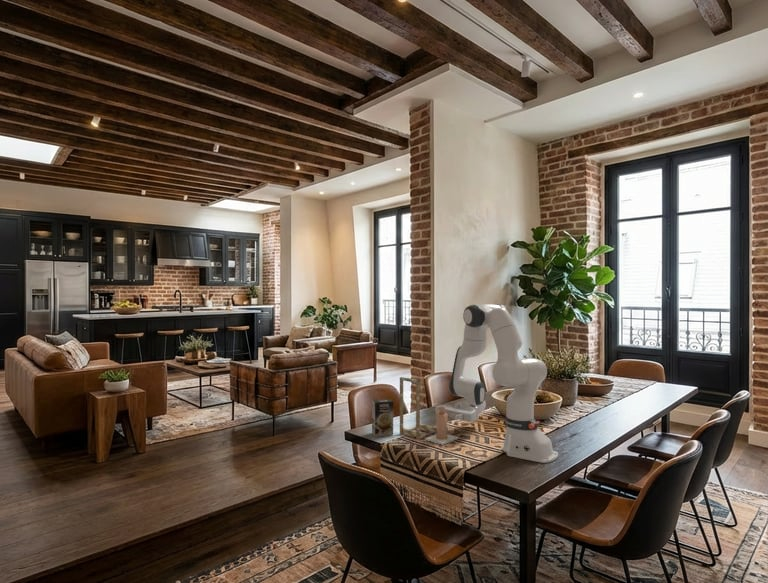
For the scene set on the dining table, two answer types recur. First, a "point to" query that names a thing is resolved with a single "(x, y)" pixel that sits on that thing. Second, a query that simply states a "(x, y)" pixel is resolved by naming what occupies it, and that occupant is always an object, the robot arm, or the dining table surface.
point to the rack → (418, 425)
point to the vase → (441, 424)
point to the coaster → (441, 441)
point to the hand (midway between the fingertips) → (445, 416)
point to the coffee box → (382, 417)
